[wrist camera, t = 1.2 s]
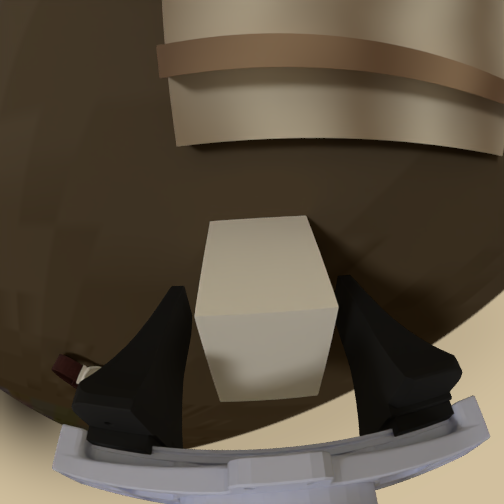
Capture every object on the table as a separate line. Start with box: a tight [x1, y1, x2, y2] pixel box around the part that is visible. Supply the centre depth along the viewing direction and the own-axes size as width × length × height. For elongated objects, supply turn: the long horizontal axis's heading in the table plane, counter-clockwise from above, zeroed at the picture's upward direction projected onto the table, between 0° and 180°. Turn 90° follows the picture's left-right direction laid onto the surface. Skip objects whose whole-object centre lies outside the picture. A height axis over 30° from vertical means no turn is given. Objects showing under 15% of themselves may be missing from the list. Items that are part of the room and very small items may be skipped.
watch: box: [52, 354, 101, 389], centre depth 21 cm, size 8×5×4 cm, turn 37°
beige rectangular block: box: [194, 216, 339, 402], centre depth 13 cm, size 4×6×6 cm
